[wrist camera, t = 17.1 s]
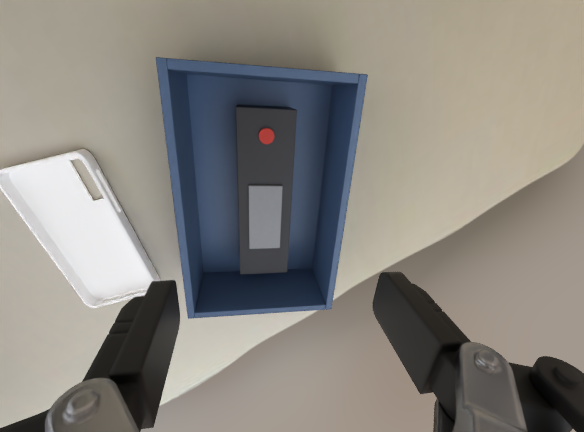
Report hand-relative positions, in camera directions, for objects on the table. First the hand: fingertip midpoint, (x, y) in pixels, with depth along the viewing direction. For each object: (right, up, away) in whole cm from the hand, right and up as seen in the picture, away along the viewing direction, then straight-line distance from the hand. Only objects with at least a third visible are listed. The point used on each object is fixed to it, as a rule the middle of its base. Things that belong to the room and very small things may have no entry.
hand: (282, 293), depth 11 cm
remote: (-2, +6, +16) cm, 17 cm away
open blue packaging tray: (-3, +6, +16) cm, 18 cm away
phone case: (-19, +2, +16) cm, 25 cm away
